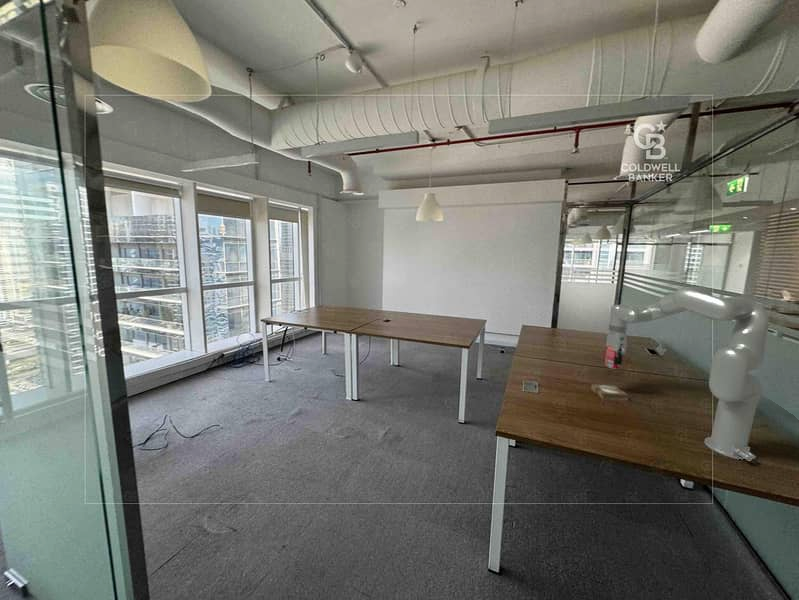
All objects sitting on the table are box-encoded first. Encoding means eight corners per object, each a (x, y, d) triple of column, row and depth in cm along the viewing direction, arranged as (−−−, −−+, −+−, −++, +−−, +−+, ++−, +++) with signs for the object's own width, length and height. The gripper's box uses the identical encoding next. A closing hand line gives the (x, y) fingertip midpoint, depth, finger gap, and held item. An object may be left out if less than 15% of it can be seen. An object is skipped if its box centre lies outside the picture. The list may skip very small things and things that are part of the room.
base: (627, 400, 156) (628, 395, 155) (603, 399, 157) (603, 393, 156) (613, 390, 168) (614, 384, 167) (591, 389, 169) (591, 383, 168)
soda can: (619, 366, 161) (622, 344, 159) (621, 370, 155) (624, 348, 153) (603, 363, 164) (606, 342, 162) (604, 367, 158) (607, 346, 156)
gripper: (636, 333, 147) (631, 368, 150) (615, 324, 164) (611, 356, 167) (620, 333, 148) (615, 367, 151) (600, 324, 165) (596, 355, 168)
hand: (613, 361), depth 159 cm, fingers closed on soda can, 7 cm apart
